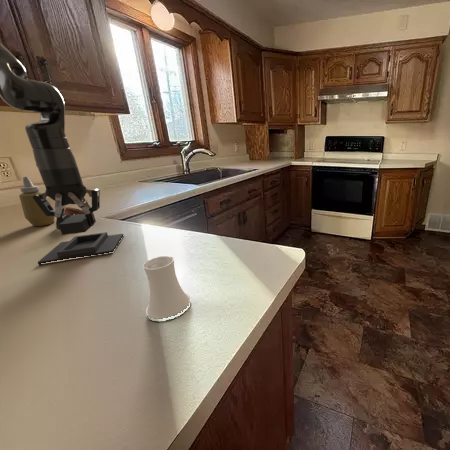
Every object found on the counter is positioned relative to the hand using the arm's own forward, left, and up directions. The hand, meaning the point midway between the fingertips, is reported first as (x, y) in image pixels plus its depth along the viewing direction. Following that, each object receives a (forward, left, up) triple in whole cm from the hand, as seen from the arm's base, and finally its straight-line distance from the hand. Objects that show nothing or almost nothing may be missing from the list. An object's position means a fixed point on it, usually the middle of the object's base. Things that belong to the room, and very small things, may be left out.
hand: (79, 226), depth 70 cm
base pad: (0, 0, -7) cm, 7 cm away
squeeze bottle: (-23, +35, -7) cm, 42 cm away
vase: (+24, -40, -7) cm, 47 cm away
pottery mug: (-11, +26, -7) cm, 29 cm away
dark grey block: (0, 0, 0) cm, 0 cm away
